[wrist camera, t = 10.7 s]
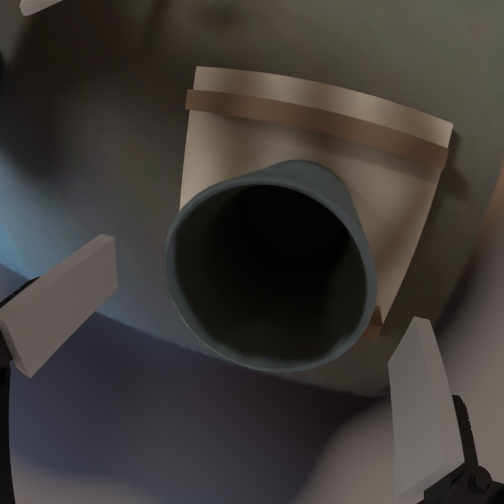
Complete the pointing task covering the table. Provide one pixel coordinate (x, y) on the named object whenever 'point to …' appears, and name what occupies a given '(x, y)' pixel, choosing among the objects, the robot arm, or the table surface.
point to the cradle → (323, 154)
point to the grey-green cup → (272, 268)
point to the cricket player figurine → (35, 5)
